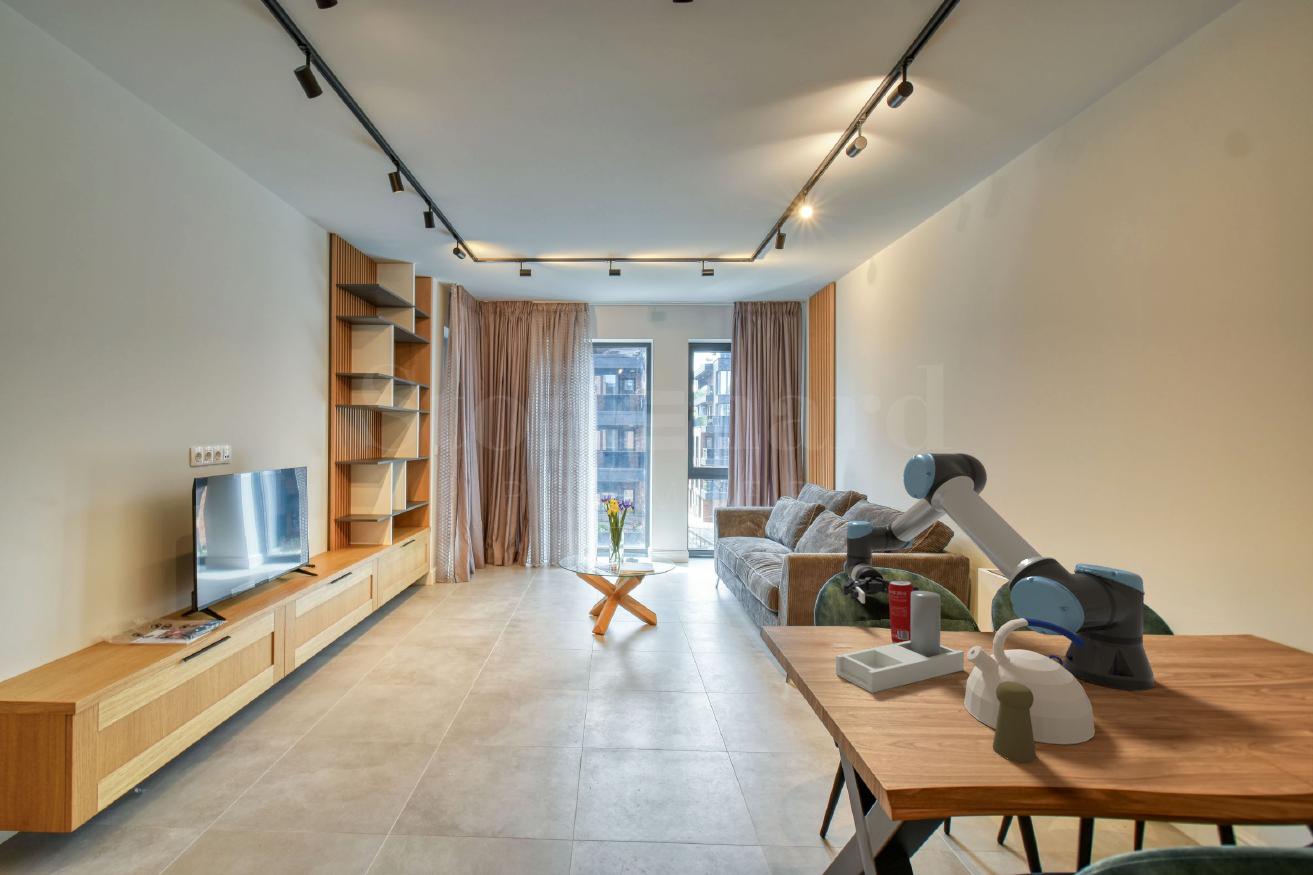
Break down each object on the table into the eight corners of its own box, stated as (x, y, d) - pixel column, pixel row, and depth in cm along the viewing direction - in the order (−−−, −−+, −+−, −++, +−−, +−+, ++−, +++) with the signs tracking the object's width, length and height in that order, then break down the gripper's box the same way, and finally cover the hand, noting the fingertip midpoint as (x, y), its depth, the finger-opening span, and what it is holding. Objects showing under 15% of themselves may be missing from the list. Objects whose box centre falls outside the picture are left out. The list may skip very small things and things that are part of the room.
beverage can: (920, 646, 142) (921, 585, 142) (893, 646, 142) (894, 584, 142) (910, 638, 148) (910, 578, 148) (884, 638, 148) (884, 578, 148)
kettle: (943, 690, 118) (944, 601, 118) (1050, 693, 117) (1051, 603, 117) (996, 743, 98) (997, 635, 98) (1125, 748, 97) (1126, 639, 97)
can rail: (925, 654, 138) (925, 586, 137) (963, 669, 129) (964, 596, 128) (836, 674, 126) (836, 599, 126) (871, 692, 117) (872, 612, 117)
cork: (984, 742, 98) (984, 677, 98) (1018, 741, 99) (1019, 676, 99) (1009, 763, 92) (1009, 693, 92) (1045, 761, 93) (1046, 692, 93)
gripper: (910, 592, 175) (938, 614, 154) (824, 590, 177) (841, 611, 156) (910, 567, 175) (938, 585, 154) (825, 565, 177) (841, 583, 156)
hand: (889, 598), depth 155 cm, fingers open, 13 cm apart
